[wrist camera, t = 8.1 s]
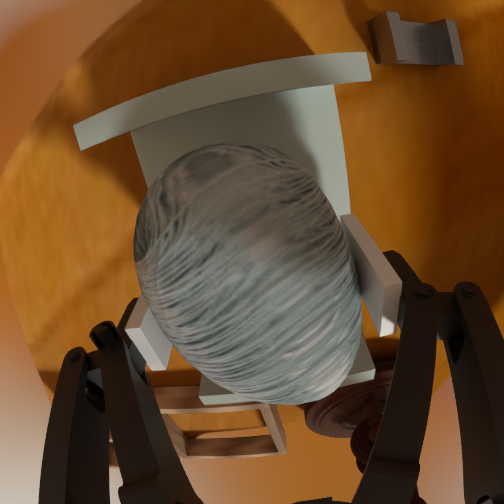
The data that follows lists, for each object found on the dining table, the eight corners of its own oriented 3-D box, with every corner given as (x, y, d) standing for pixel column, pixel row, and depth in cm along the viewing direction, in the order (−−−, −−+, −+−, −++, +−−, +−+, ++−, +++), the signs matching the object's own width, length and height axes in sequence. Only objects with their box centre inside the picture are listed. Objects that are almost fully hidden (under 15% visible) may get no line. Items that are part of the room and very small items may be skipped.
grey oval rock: (77, 192, 12) (89, 354, 5) (242, 96, 14) (419, 130, 7) (197, 341, 21) (271, 452, 14) (298, 268, 23) (396, 350, 16)
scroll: (417, 397, 32) (456, 519, 15) (317, 430, 35) (332, 558, 17) (423, 331, 25) (497, 504, 8) (287, 377, 28) (302, 569, 11)
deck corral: (266, 378, 28) (268, 402, 25) (285, 435, 35) (287, 453, 33) (137, 387, 30) (131, 408, 27) (185, 441, 37) (183, 457, 34)
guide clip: (430, 26, 12) (454, 20, 10) (438, 66, 14) (464, 65, 11) (366, 21, 13) (386, 11, 10) (376, 64, 14) (397, 60, 12)
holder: (324, 67, 15) (366, 51, 9) (350, 313, 24) (374, 378, 18) (132, 112, 16) (72, 125, 10) (212, 337, 25) (204, 404, 19)
